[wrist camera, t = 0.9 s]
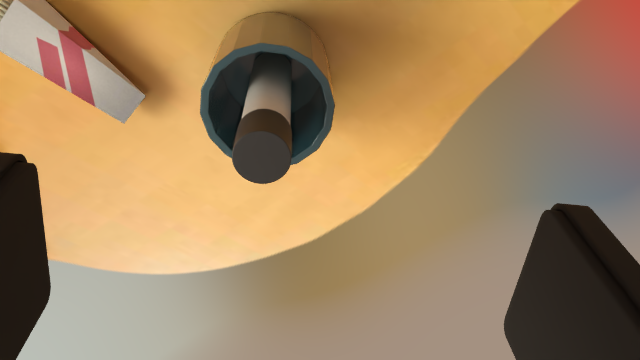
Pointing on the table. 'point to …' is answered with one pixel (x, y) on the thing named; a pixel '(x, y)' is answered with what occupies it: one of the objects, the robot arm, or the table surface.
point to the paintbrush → (64, 56)
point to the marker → (265, 122)
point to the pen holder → (235, 71)
